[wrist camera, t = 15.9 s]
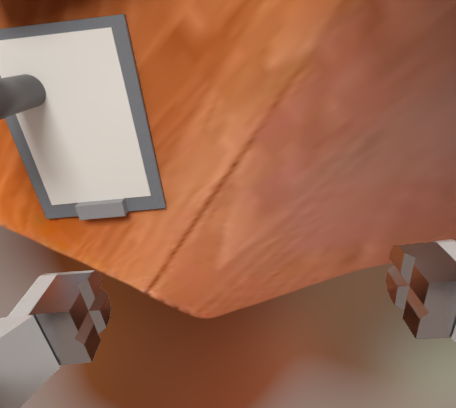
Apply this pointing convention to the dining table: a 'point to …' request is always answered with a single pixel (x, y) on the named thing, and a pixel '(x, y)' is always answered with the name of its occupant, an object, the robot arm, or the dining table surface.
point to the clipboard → (83, 119)
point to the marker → (20, 94)
